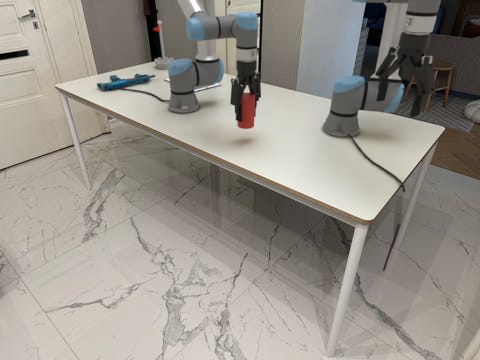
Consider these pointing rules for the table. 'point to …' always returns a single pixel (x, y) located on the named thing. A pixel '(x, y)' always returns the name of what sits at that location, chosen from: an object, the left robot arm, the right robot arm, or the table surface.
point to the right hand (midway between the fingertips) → (396, 108)
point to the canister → (247, 111)
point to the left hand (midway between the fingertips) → (245, 118)
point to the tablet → (198, 88)
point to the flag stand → (165, 61)
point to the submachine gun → (123, 81)
